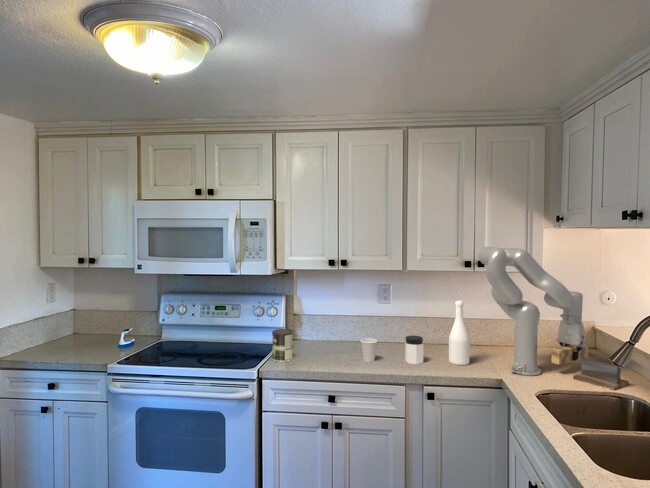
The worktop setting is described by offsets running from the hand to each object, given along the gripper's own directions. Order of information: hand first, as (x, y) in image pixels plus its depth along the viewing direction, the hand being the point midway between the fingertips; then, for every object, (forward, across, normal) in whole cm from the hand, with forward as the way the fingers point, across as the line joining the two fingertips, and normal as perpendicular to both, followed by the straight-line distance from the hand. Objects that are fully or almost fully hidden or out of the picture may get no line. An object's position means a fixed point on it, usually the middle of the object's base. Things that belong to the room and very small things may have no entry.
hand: (570, 358), depth 198 cm
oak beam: (+1, 0, 0) cm, 1 cm away
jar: (+8, -47, -51) cm, 70 cm away
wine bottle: (+7, -34, -34) cm, 49 cm away
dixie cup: (+9, -61, -68) cm, 92 cm away
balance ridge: (+5, +16, -5) cm, 17 cm away
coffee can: (+11, -86, -103) cm, 135 cm away
